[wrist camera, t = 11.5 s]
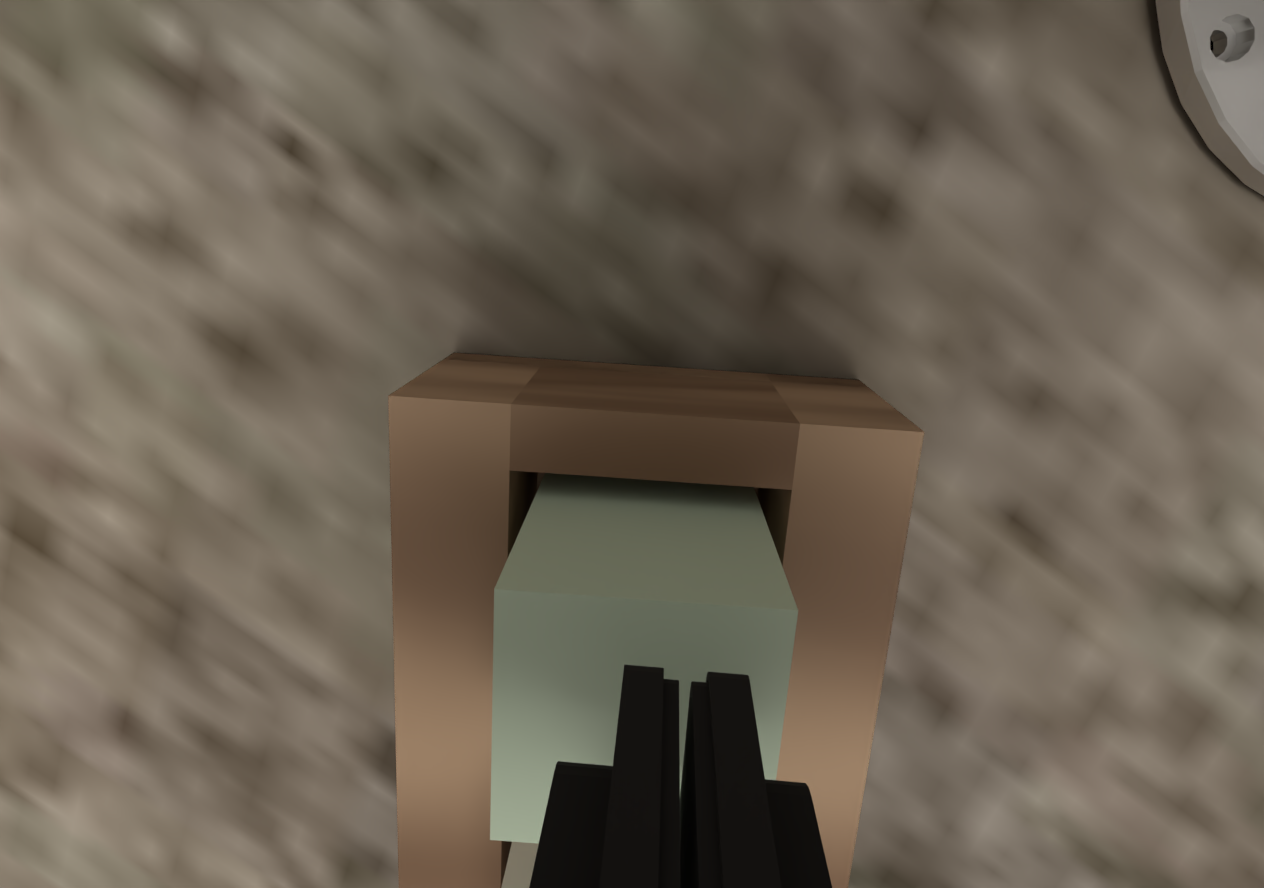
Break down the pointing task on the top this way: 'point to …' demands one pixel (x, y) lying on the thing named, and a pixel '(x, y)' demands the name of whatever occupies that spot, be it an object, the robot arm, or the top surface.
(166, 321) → the top surface
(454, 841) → the brown wooden block rack
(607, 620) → the key sage
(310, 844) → the top surface
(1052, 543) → the top surface
